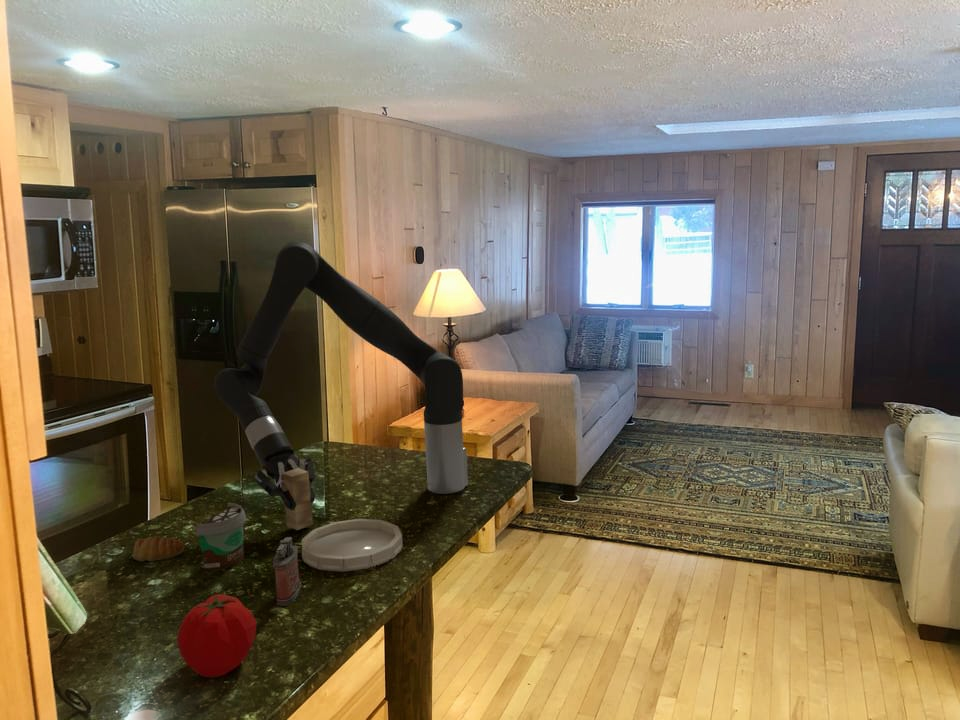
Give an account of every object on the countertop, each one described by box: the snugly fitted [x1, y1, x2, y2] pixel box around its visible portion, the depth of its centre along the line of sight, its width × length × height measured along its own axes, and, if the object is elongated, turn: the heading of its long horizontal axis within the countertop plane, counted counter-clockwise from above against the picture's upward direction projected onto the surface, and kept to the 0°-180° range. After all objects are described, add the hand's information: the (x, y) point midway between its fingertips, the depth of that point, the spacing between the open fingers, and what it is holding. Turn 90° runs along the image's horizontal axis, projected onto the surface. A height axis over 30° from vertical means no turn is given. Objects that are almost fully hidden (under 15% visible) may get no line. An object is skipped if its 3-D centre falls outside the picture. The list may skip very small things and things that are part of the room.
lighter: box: [272, 536, 301, 606], centre depth 135 cm, size 8×3×10 cm, turn 178°
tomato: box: [176, 593, 257, 678], centre depth 114 cm, size 11×13×10 cm
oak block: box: [282, 467, 314, 531], centre depth 165 cm, size 4×4×12 cm
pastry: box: [132, 535, 185, 563], centre depth 155 cm, size 9×7×4 cm
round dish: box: [301, 518, 404, 573], centre depth 154 cm, size 20×20×2 cm
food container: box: [195, 502, 247, 572], centre depth 150 cm, size 12×6×10 cm, turn 168°
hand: (303, 504), depth 164 cm, fingers closed on oak block, 4 cm apart
